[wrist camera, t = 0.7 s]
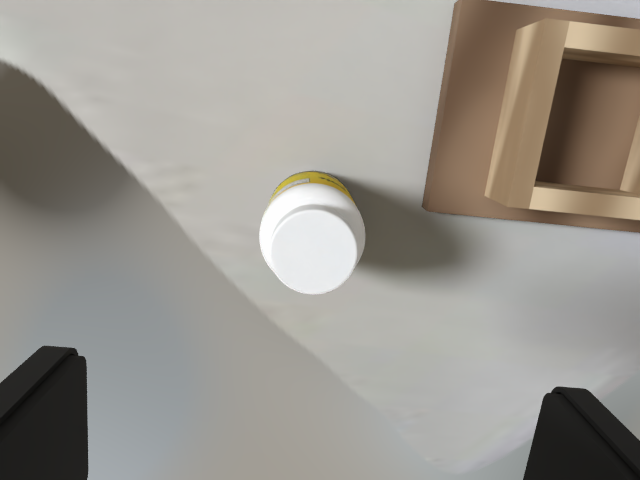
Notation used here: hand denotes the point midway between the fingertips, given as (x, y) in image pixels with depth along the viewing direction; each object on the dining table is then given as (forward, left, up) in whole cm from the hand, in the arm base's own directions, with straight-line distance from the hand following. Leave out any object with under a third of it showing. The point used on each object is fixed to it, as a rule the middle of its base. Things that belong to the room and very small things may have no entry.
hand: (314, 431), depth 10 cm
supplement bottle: (0, 0, -22) cm, 22 cm away
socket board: (-15, -7, -22) cm, 28 cm away
